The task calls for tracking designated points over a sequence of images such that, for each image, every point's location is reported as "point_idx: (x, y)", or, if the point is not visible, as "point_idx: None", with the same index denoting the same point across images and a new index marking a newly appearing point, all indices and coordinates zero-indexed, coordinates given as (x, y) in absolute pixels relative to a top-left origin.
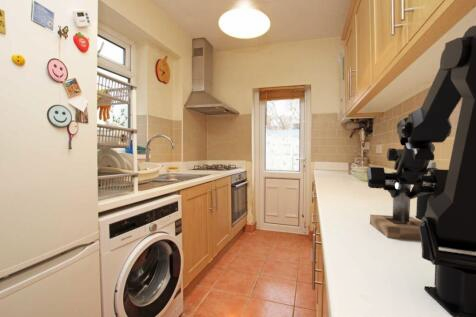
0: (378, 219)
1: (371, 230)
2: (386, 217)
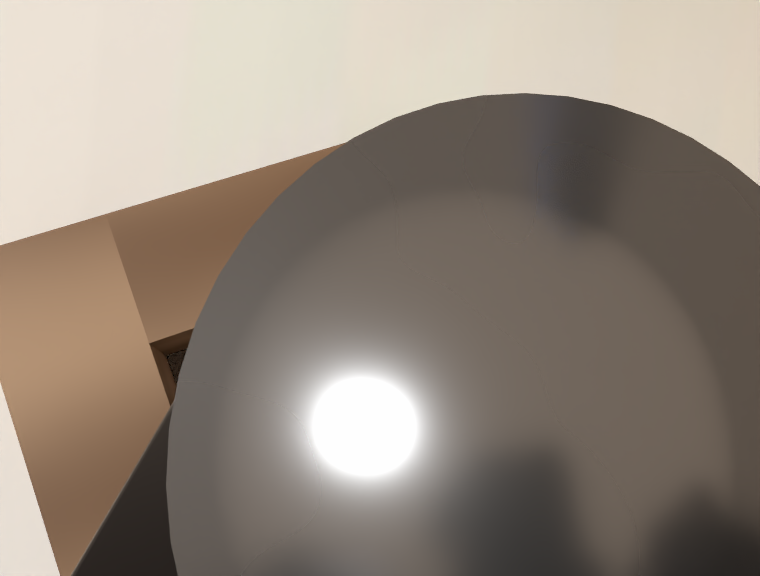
0: (55, 496)
1: (5, 572)
2: (174, 311)
